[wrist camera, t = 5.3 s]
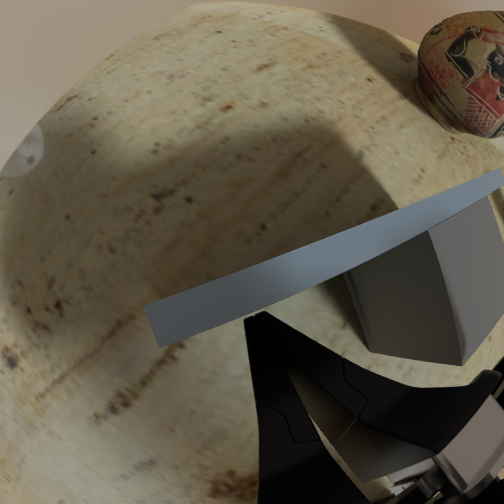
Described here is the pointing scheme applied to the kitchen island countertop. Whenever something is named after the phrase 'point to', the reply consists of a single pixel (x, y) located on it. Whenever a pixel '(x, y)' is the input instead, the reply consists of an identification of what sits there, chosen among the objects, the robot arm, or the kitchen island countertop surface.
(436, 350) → the camera case
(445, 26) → the ceramic jug
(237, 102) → the kitchen island countertop surface
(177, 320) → the side door
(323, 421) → the robot arm
